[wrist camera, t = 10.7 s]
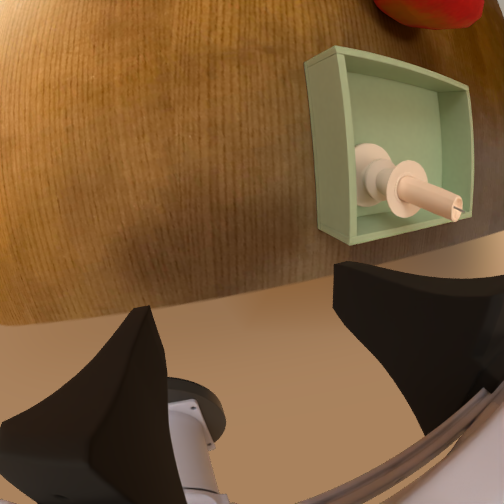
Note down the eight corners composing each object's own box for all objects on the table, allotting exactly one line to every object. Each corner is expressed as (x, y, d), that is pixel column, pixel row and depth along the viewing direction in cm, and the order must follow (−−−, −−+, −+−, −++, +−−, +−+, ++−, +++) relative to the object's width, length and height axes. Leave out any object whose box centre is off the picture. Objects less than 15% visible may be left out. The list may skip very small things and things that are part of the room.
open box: (440, 207, 26) (471, 217, 22) (317, 228, 22) (349, 246, 18) (435, 88, 21) (468, 86, 17) (303, 62, 17) (335, 45, 13)
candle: (389, 142, 20) (491, 164, 11) (390, 201, 22) (481, 248, 13) (336, 144, 19) (437, 164, 10) (339, 209, 22) (428, 268, 12)
